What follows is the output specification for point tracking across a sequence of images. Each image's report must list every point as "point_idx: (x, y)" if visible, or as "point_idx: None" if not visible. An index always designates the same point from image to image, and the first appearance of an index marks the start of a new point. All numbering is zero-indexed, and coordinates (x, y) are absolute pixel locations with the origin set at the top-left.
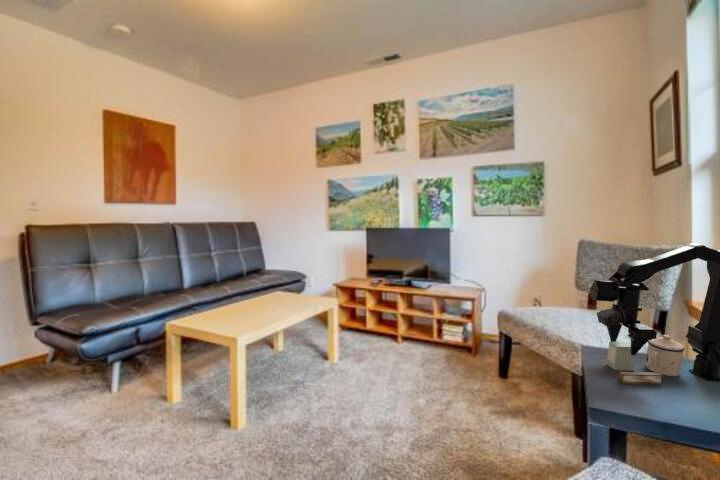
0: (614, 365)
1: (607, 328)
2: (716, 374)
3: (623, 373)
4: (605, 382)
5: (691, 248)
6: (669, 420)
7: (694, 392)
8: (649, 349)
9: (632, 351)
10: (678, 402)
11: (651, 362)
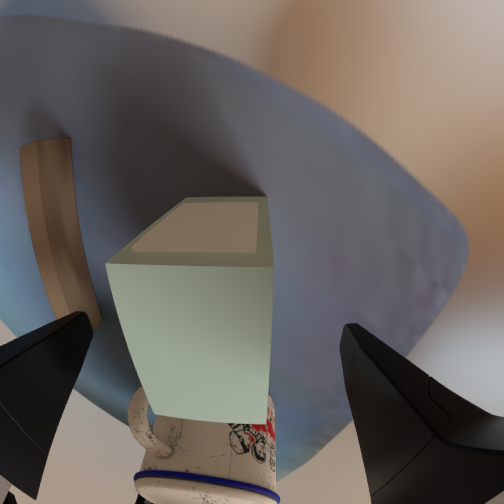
0: (187, 202)
1: (465, 404)
2: None
3: (26, 158)
4: (63, 74)
5: None
6: None
7: None
8: (217, 451)
9: (48, 324)
10: (3, 273)
11: None
